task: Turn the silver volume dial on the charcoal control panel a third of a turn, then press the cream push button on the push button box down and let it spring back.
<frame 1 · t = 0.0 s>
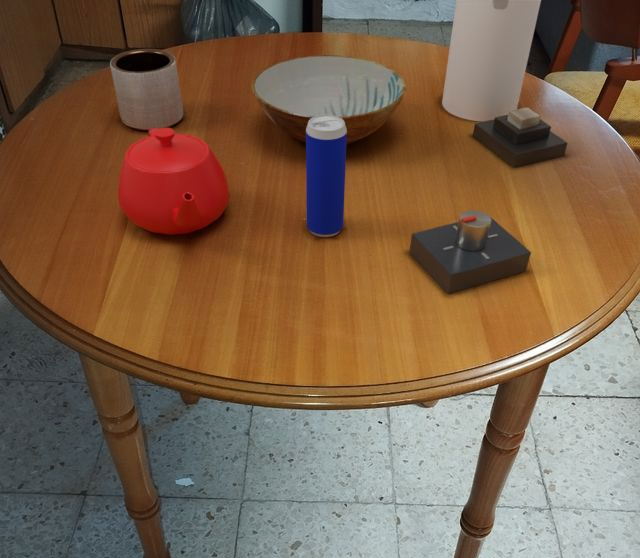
planter: (153, 120, 119), on the table
volume dial: (473, 229, 87), point 5 cm above the table, hinge at 0.0°
cream push button: (523, 118, 109), point 4 cm above the table, slide at 0.1 cm
bowl: (328, 133, 116), on the table
push button box: (517, 145, 113), on the table
teapot: (179, 219, 97), on the table
canister: (479, 106, 123), on the table
volume panel: (466, 262, 90), on the table
beverage can: (324, 230, 96), on the table
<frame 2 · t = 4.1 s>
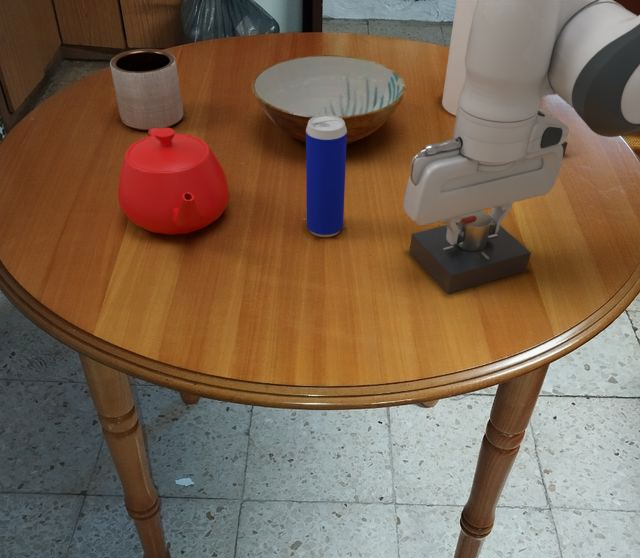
hand: (472, 236, 87), 4 cm above the table, tool pointing down, fingers closed on volume dial, 4 cm apart
volume dial: (473, 229, 87), point 5 cm above the table, hinge at 0.0°, touching gripper
everything else where it was.
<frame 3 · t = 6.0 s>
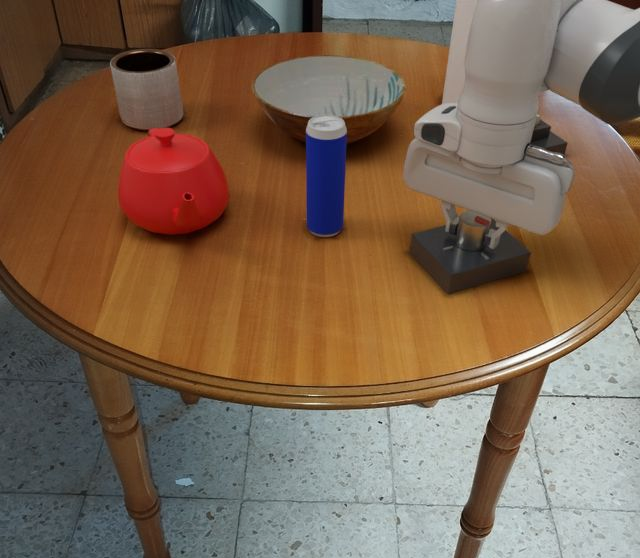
hand: (471, 238, 88), 4 cm above the table, tool pointing down, fingers closed on volume dial, 4 cm apart
volume dial: (473, 229, 87), point 5 cm above the table, hinge at 112.0°, touching gripper
everything else where it was.
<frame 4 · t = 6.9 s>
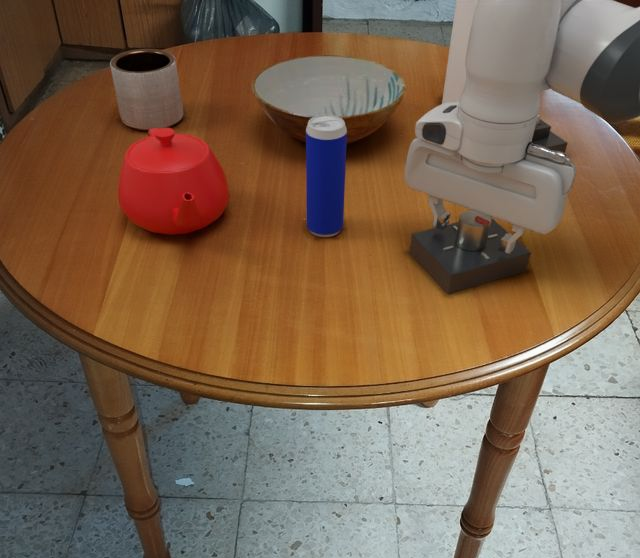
hand: (472, 238, 88), 4 cm above the table, tool pointing down, fingers open, 8 cm apart
volume dial: (473, 229, 87), point 5 cm above the table, hinge at 111.3°
everything else where it was.
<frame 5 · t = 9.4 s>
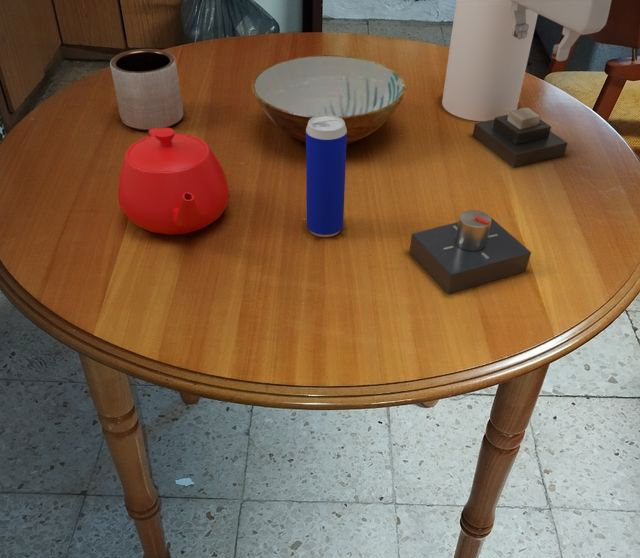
hand: (538, 48, 99), 16 cm above the table, tool pointing down, fingers open, 8 cm apart
nothing on the table moved.
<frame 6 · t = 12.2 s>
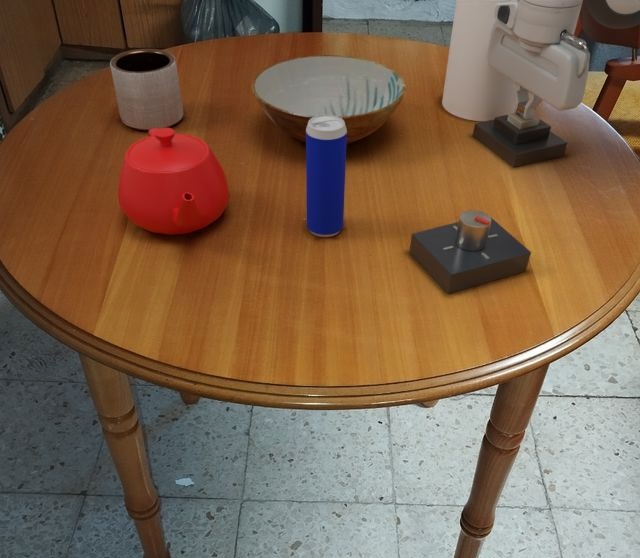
hand: (523, 115, 109), 5 cm above the table, tool pointing down, fingers closed, pressing on cream push button
cream push button: (522, 121, 110), point 4 cm above the table, slide at -0.4 cm, touching gripper
everything else where it was.
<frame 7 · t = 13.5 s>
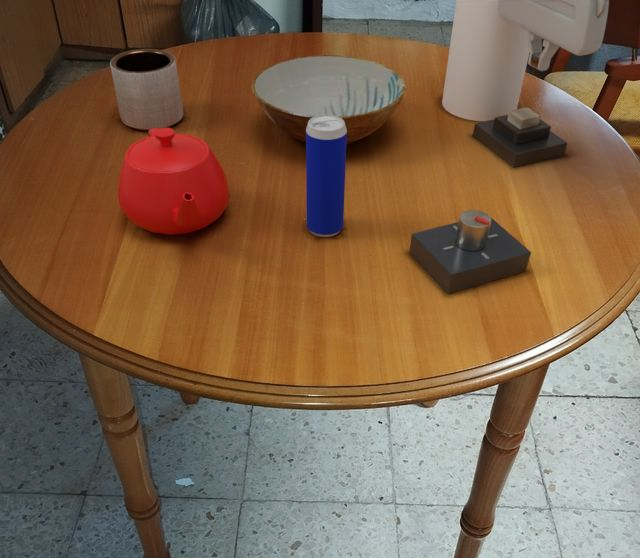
hand: (537, 67, 103), 12 cm above the table, tool pointing down, fingers closed
cream push button: (523, 118, 109), point 4 cm above the table, slide at 0.1 cm
everything else where it was.
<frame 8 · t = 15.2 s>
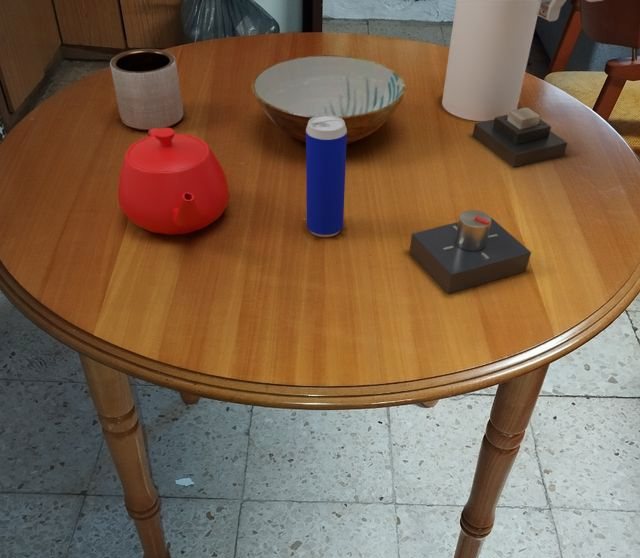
hand: (546, 18, 99), 19 cm above the table, tool pointing down, fingers closed
nothing on the table moved.
at the end: volume dial at +111° (first picture: +0°); cream push button pushed in 1.1 cm at the most during the clip, back to where it started at the end; cream push button slide at 0.1 cm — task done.
